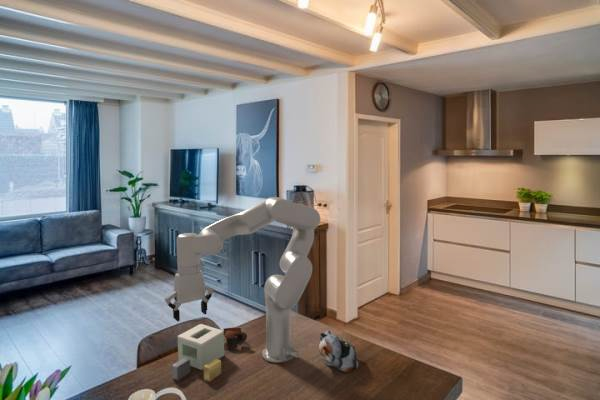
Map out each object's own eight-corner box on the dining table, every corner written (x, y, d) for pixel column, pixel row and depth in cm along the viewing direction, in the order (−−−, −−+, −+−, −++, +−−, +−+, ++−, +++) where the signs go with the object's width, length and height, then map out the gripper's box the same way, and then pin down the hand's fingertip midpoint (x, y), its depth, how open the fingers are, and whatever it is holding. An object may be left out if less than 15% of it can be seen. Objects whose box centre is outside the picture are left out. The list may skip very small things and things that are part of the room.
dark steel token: (190, 372, 137) (189, 359, 136) (177, 380, 132) (176, 367, 131) (185, 370, 138) (184, 357, 137) (172, 378, 133) (171, 365, 132)
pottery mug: (215, 349, 153) (216, 328, 157) (229, 350, 161) (229, 329, 165) (241, 347, 149) (241, 325, 152) (253, 348, 157) (253, 327, 160)
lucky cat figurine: (360, 375, 135) (345, 347, 131) (328, 384, 138) (313, 357, 133) (356, 343, 149) (343, 317, 144) (328, 352, 152) (314, 326, 147)
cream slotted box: (224, 355, 148) (223, 330, 147) (202, 370, 138) (201, 343, 137) (201, 347, 154) (200, 323, 153) (178, 361, 144) (177, 336, 143)
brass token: (221, 373, 136) (220, 360, 136) (209, 382, 131) (209, 368, 130) (215, 371, 137) (215, 358, 137) (204, 379, 132) (203, 366, 132)
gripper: (208, 262, 140) (209, 307, 142) (160, 271, 130) (162, 319, 132) (217, 267, 134) (218, 313, 136) (167, 276, 124) (169, 326, 126)
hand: (190, 316), depth 134 cm, fingers open, 9 cm apart
